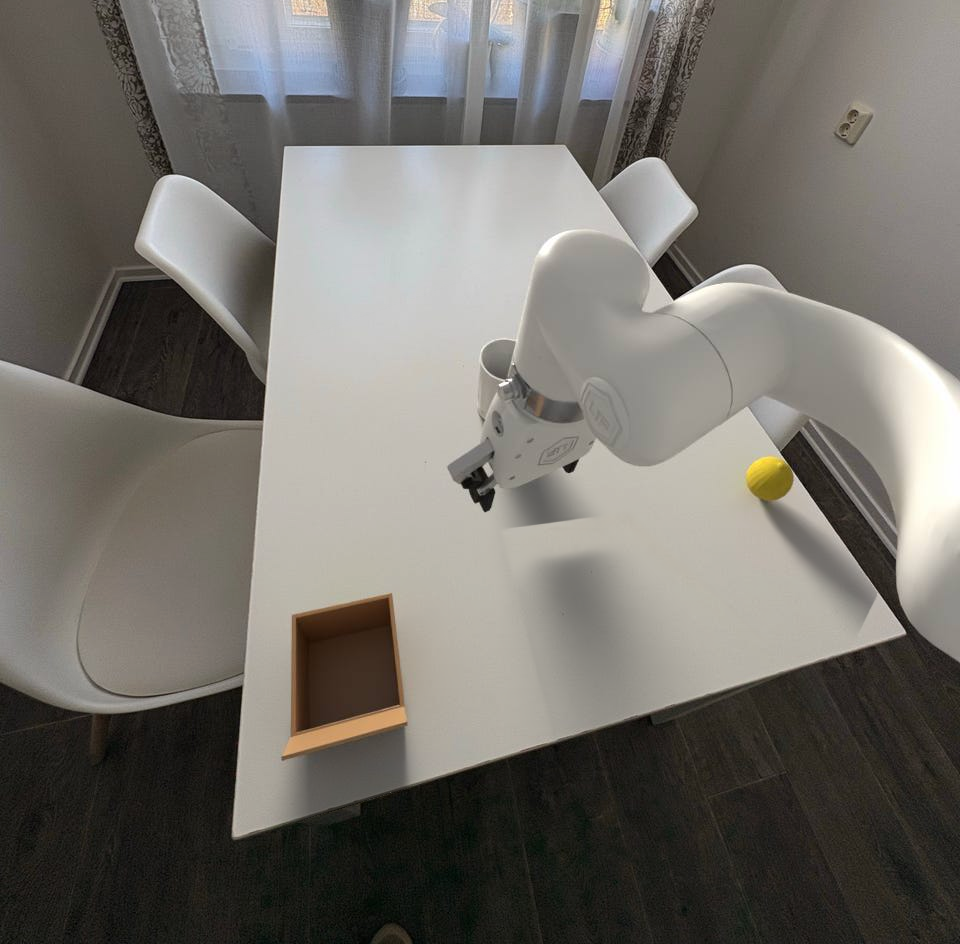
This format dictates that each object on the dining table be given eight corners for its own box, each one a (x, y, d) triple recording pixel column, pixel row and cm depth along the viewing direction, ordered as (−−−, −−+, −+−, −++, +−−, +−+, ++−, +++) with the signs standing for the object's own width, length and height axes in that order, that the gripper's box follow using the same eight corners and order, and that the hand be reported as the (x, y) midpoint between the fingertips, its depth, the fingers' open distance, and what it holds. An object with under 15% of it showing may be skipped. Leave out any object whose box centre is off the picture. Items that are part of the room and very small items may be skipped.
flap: (404, 706, 47) (404, 710, 47) (290, 737, 45) (290, 741, 45) (407, 721, 43) (407, 725, 43) (281, 756, 41) (281, 761, 41)
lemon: (764, 517, 75) (793, 492, 70) (730, 488, 78) (755, 462, 72) (781, 493, 78) (810, 467, 73) (747, 467, 81) (773, 439, 75)
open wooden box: (404, 725, 55) (405, 708, 48) (306, 752, 53) (290, 740, 45) (393, 621, 62) (392, 592, 54) (305, 641, 59) (291, 614, 52)
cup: (468, 388, 86) (475, 339, 78) (515, 384, 87) (527, 336, 79) (476, 431, 80) (484, 384, 72) (526, 426, 82) (540, 379, 74)
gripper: (481, 456, 36) (461, 551, 48) (671, 377, 43) (612, 477, 55) (436, 374, 40) (429, 479, 52) (614, 314, 47) (571, 420, 59)
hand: (522, 478), depth 54 cm, fingers open, 9 cm apart
